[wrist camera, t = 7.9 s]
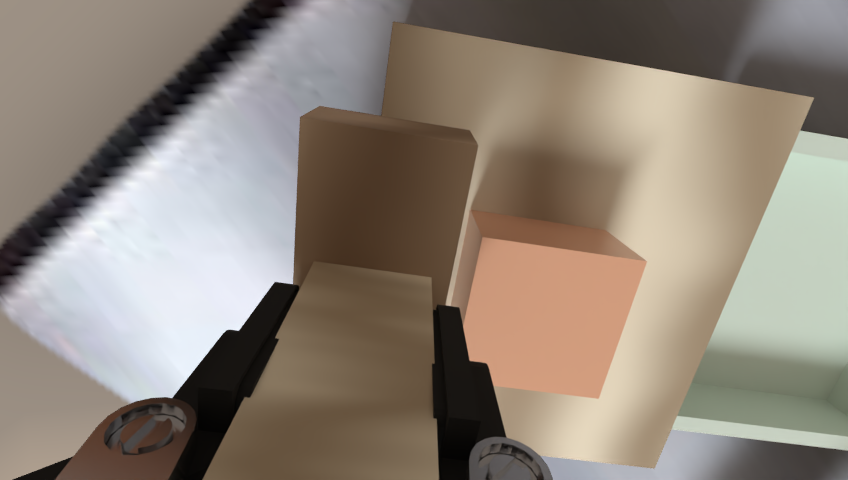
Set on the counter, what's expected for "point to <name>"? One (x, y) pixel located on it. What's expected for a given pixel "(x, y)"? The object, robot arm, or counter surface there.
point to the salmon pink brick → (544, 301)
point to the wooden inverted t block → (358, 306)
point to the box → (785, 316)
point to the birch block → (609, 203)
